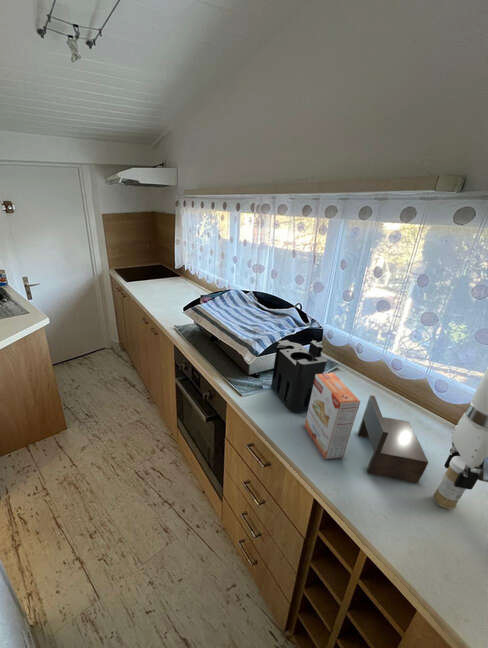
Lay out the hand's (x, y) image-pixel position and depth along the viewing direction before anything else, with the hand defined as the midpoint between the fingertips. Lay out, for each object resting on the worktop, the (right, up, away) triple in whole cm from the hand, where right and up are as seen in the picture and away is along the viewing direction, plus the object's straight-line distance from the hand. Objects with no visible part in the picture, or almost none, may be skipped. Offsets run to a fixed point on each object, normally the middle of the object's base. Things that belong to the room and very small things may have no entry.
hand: (457, 476), depth 71 cm
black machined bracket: (-23, +12, +44) cm, 52 cm away
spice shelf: (-5, -1, +18) cm, 19 cm away
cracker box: (-21, +1, +23) cm, 32 cm away
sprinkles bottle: (0, -8, +4) cm, 9 cm away
